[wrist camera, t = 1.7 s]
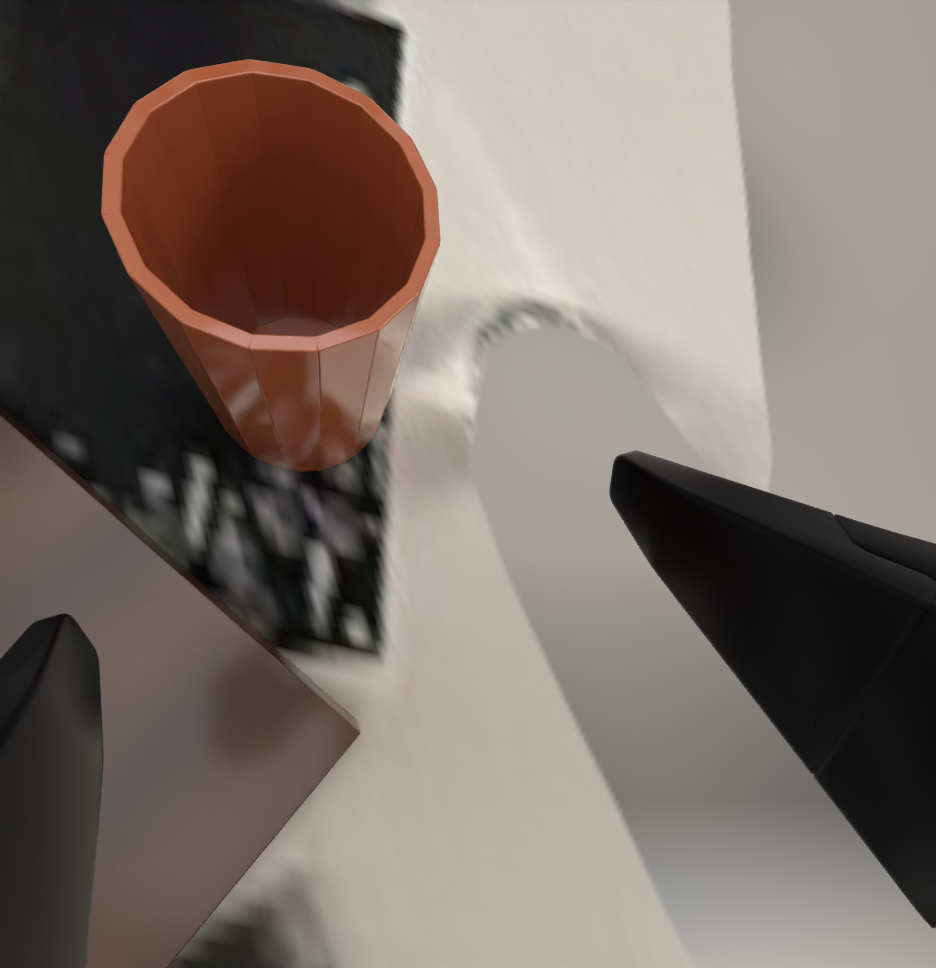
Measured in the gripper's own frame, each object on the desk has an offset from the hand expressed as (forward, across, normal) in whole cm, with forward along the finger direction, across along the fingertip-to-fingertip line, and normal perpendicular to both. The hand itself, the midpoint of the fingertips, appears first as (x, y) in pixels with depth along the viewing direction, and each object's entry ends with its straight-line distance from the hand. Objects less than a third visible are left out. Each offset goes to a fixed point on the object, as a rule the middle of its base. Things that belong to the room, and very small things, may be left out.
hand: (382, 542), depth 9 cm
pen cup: (+15, 0, +4) cm, 16 cm away
